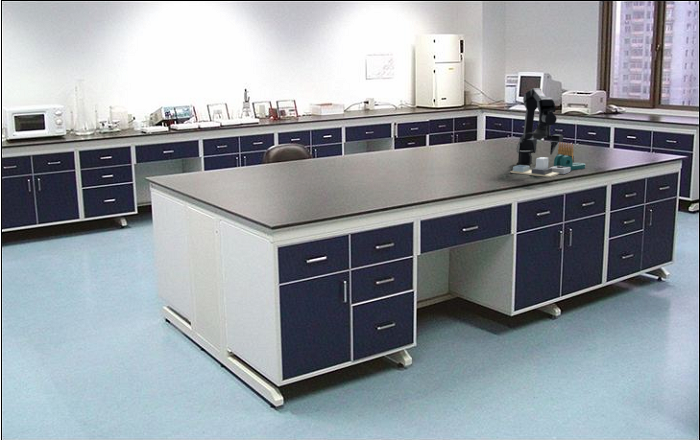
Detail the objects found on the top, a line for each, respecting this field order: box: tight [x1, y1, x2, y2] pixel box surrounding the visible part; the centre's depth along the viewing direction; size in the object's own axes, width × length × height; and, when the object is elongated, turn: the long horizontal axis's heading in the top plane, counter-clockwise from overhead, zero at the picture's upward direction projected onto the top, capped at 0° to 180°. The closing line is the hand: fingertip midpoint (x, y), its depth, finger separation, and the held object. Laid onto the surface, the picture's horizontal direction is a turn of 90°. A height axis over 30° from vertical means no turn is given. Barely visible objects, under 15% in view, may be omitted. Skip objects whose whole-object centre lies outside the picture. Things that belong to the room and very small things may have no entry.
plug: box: [535, 156, 550, 170], centre depth 368 cm, size 4×7×7 cm, turn 141°
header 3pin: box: [512, 164, 531, 172], centre depth 376 cm, size 6×7×2 cm
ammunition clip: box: [556, 141, 575, 163], centre depth 398 cm, size 11×2×12 cm, turn 32°
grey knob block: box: [550, 165, 572, 175], centre depth 374 cm, size 8×8×3 cm
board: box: [510, 169, 559, 178], centre depth 371 cm, size 22×10×1 cm, turn 50°
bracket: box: [553, 154, 586, 171], centre depth 383 cm, size 18×7×8 cm, turn 118°
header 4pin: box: [531, 167, 552, 175], centre depth 368 cm, size 7×9×2 cm
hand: (542, 153), depth 366 cm, fingers open, 9 cm apart
